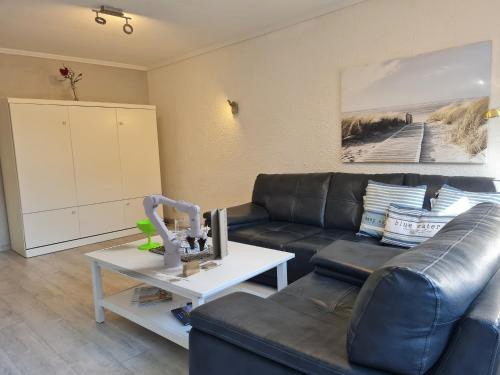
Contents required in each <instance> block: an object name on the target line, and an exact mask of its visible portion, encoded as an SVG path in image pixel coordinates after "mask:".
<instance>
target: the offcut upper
mask: <svg viewBox="0 0 500 375" xmlns="http://www.w3.org/2000/svg"><path fill="white" fill-rule="evenodd" d="M210 262H211V263H210ZM210 262H208V263H209V264H207V263H205V264H206V265H204V264H203V265H204V266H202V265H201V266H202V267H201V268H205V269H206V270H208V269H209V270H210V268H213V266H214V267H215V265H216V266H218V264H217V262H213V261H210Z"/></svg>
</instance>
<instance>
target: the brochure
mask: <svg viewBox="0 0 500 375" xmlns="http://www.w3.org/2000/svg"><path fill="white" fill-rule="evenodd" d="M227 218H228V217H227V207H224V208H223V209H221V210H220V209H219V207H216V208H215V209H212V210H211V211H210V221H211V224H210V225H211V243H212V260H214V259H215V258H216V257H217V256H220V259H221V260H223V259H224V258H225V257H228V255H229V242H228V241H229V240H228V219H227Z"/></svg>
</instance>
